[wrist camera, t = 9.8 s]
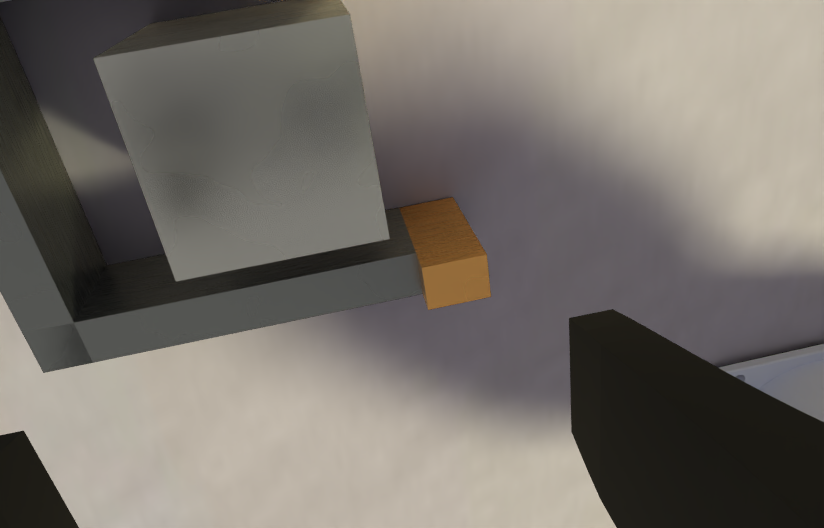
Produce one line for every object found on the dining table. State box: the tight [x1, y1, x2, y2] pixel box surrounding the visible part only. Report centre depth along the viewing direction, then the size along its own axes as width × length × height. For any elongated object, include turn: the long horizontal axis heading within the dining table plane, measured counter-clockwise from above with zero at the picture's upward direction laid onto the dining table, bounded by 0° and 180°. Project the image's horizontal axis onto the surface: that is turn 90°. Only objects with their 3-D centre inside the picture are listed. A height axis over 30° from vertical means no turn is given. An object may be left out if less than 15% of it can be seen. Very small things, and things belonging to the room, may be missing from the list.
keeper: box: [0, 0, 491, 373], centre depth 15 cm, size 14×9×4 cm, turn 98°
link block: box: [93, 0, 390, 281], centre depth 14 cm, size 4×4×5 cm
